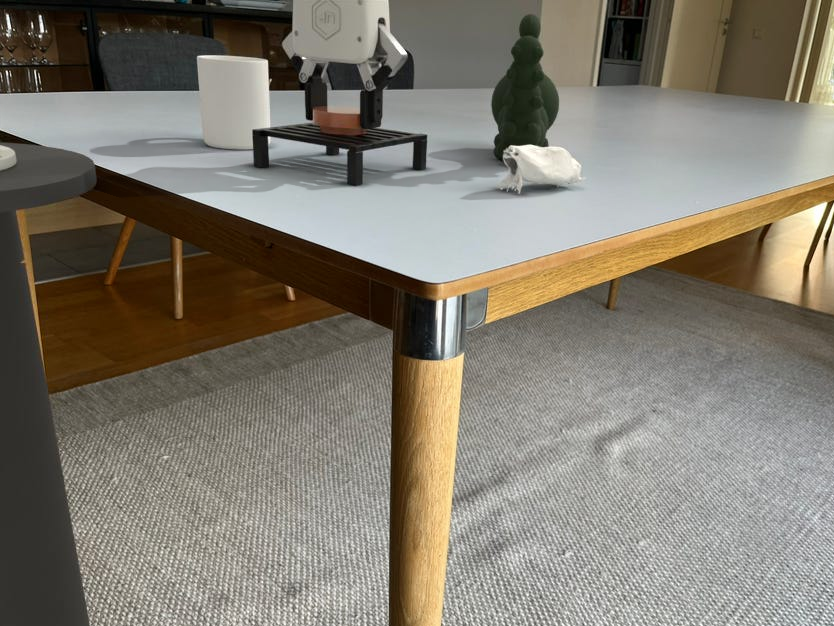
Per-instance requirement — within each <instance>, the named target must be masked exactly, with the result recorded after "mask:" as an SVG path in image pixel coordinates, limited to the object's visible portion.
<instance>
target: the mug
mask: <svg viewBox="0 0 834 626" xmlns="http://www.w3.org/2000/svg"><path fill="white" fill-rule="evenodd" d="M196 64H197V65H196V66H197V77H198V79H197V80H198V89H199V90H198V91H199V92H198V93H199V105H200V119H201V132H202V138H203V141H204V143H205V144H206V145H208V146H209V147H211V148H216V149H224V150H242V151H243V150H246V151H247V150H253V138H252V130H253V129H261V128H270V127H271V111H270V110H271V107H270V105H271V104H270V83H269V82H270V81H269V79H270V78H269V61H268V59H266V58H259V57H251V56H250V57H249V56H236V55H216V54H215V55H213V54H212V55H211V54H210V55H209V54H207V55H204V54H203V55H197V56H196ZM271 139H272V137H268V146H269V145H270V144H271V141H272V140H271Z"/></svg>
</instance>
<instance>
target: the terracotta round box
mask: <svg viewBox="0 0 834 626" xmlns="http://www.w3.org/2000/svg"><path fill="white" fill-rule="evenodd" d="M312 113H313V121H312V123H313V124H315V125H318V126H320V131H321V132H324V133H328V134H336V135H363V134H366V133H367V129H363V128H361V126H360V107H352V106H339V105H338V106H336V105H327V106H321V107H314V108H313V109H312Z"/></svg>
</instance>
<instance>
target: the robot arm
mask: <svg viewBox="0 0 834 626" xmlns="http://www.w3.org/2000/svg"><path fill="white" fill-rule="evenodd" d="M292 1H293V2H292V29H291V31H290V33H288V35H287V36H286V37H285V38H284V40H283V41H282V43H281V47H282V48H283V50H284V52H285V54H286V55H287V56H288V58H289V59H290V60H291V65H292V67H293V68H294V69H295V71H296V72H297V74H298V79H299V81H300V83H302V84H304V108H305V112H304V113H305V120H306V121H309V122H313V113H312V109H313V108H314V107H321V106H328V85H327V82H323V79H324V76H325V74H326V72H327V69H328V66H329V63H330V62H333V63H343V64H350V65H351V64H352V65H353V64H355V65H356V66H357V69H358V72H359V75H360V78H361V81H362V83H363V86H364V89H360V92H359V108H360V126H361V128H363V129H370V128H380V127H381V126H382V119H383V114H384V113H383V112H384V111H383V108H384V106H383V105H384V104H383V103H384V102H383V101H384V91H386V90H387V89H388V88H389V84H390V82H392V80H394V78H395V77H396V76H397V74H398V71H399V70H400V69H401V68H402V67H403V66H404V65H405V63H406V61H407V60H408V57H409V56H408V53H407V52H406V50H405V49H404V48H403V46H402V45H401V44H400V43H399V42H398V40H397V39H396V38H395V36H394V35H393V34H392V33H391V27H390V25H391V21H390V5H389V4H390V3H389V0H292ZM383 62H385V63H384V64H383V65H382V63H383ZM16 162H17V160H16V154H15V151H14V150H12V149H11V148H8V147H5V146H1V145H0V171H2V170H6V169H8V168H11V167H13V166H14V165H15V164H16Z"/></svg>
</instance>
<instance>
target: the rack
mask: <svg viewBox="0 0 834 626" xmlns="http://www.w3.org/2000/svg"><path fill="white" fill-rule="evenodd" d="M268 137H271V138H273V139H281V140H286V141H293V142H299V143H305V144H312V145H315V146H316V145H318V146H323V147H325V154H326V155H330V156H337V155H340V150H347V151H346V171H347V172H346V179H347V180H346V183H347V185H351V186H360V185H363V183H364V152H365V151H372V150H377V149H382V148H383V149H384V148H389V147H395V146H400V145H405V144H410V143H412V144H413V145H412V170H417V171H422V170H426V169H427V157H428V155H427V154H428V150H427V149H428V134H427V133H414V132H407V131H400V130H394V129H387V128H380V127H377V128H370V129H367V133H366V134H363V135H336V134H328V133H324V132H321V131H320V126H318V125H315V124H313V122H304V123H297V124H296V123H295V124H289V125H278V126H270V128H261V129H253V130H252V138H253V149H252V155H253V167H255V168H261V169H263V168H268V167H269V168H270V155H269V154H270V152H269V145H268Z"/></svg>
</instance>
